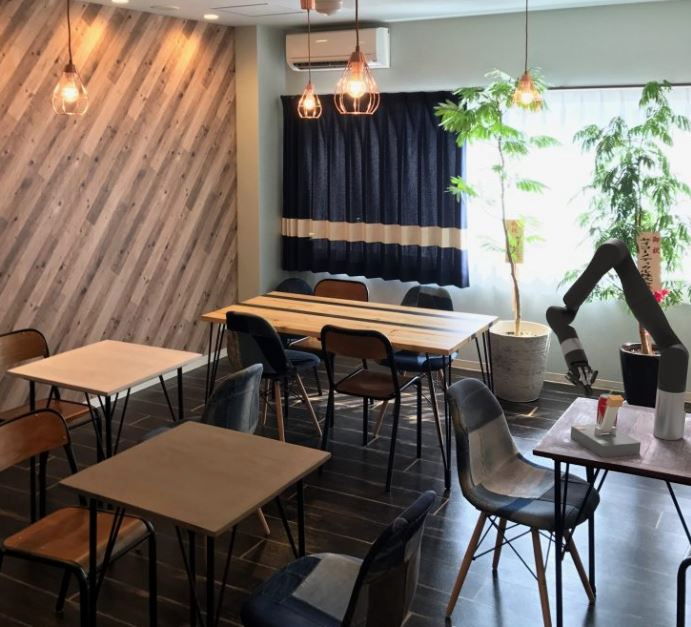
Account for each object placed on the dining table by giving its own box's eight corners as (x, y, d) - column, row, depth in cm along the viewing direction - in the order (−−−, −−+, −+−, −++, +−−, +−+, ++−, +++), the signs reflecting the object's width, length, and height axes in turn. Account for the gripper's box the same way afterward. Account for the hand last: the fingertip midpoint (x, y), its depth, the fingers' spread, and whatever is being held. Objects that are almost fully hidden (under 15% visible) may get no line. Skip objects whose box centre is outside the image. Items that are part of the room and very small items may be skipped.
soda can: (600, 422, 298) (602, 391, 295) (619, 427, 293) (621, 395, 291) (592, 427, 292) (595, 396, 290) (611, 432, 288) (614, 400, 286)
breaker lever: (608, 429, 276) (620, 395, 268) (612, 434, 274) (624, 399, 266) (597, 430, 275) (608, 395, 267) (600, 435, 273) (612, 400, 265)
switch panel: (605, 433, 286) (607, 416, 285) (639, 454, 267) (641, 435, 266) (570, 436, 283) (571, 419, 281) (602, 457, 264) (603, 439, 262)
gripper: (561, 349, 287) (577, 392, 277) (594, 347, 290) (611, 389, 281) (553, 359, 293) (568, 402, 284) (585, 357, 296) (601, 399, 287)
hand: (589, 395), depth 282 cm, fingers closed
